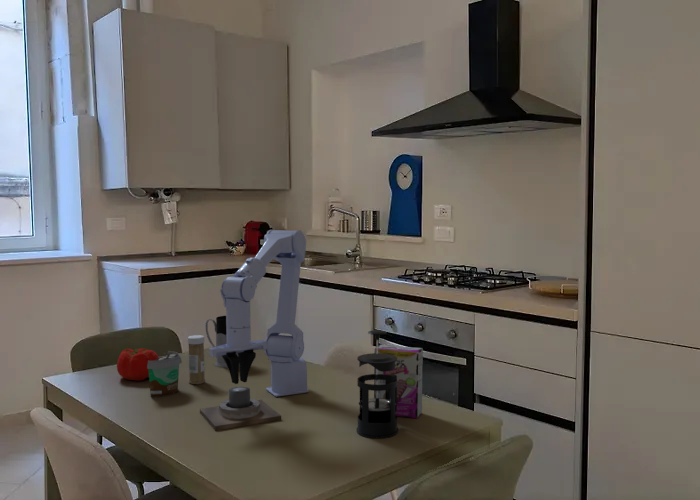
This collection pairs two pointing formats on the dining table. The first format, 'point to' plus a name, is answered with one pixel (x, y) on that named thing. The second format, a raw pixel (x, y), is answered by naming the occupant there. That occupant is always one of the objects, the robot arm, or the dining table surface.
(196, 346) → the sprinkles bottle
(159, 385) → the food container
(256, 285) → the robot arm
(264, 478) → the dining table surface
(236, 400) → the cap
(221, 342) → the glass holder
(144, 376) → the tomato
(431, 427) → the dining table surface
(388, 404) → the french press
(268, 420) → the collar
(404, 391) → the candy bar box
